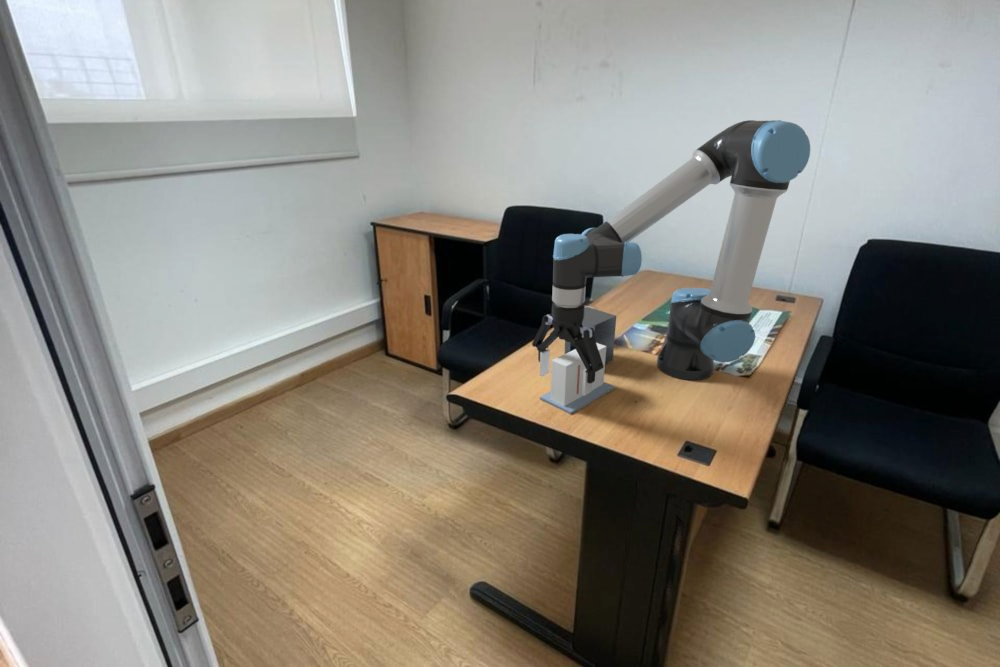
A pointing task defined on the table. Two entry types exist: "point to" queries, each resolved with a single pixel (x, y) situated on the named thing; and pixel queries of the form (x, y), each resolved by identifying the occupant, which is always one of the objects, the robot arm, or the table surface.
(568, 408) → the mat
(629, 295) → the table surface
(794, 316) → the table surface
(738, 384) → the table surface
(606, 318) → the dispenser
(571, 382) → the white block
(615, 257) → the robot arm
